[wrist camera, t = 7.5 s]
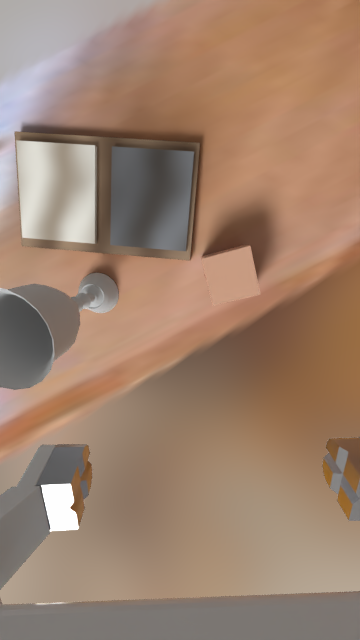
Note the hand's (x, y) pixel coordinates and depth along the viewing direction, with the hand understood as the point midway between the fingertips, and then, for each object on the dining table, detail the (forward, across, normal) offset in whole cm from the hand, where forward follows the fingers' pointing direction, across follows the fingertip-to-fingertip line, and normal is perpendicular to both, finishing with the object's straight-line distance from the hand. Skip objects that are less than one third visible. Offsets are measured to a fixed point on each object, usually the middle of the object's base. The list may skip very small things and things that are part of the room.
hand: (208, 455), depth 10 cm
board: (+29, -8, +9) cm, 31 cm away
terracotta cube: (+27, +5, +1) cm, 27 cm away
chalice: (+28, -10, -2) cm, 30 cm away
